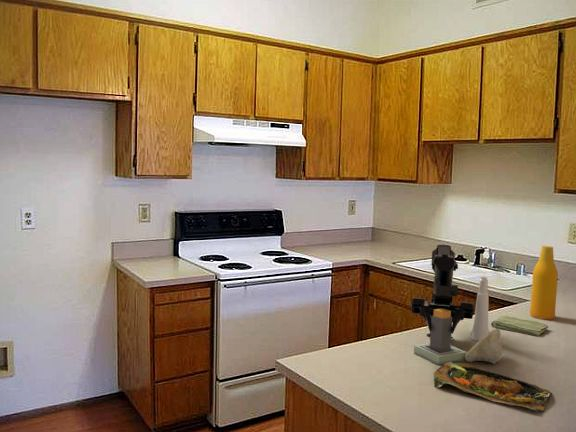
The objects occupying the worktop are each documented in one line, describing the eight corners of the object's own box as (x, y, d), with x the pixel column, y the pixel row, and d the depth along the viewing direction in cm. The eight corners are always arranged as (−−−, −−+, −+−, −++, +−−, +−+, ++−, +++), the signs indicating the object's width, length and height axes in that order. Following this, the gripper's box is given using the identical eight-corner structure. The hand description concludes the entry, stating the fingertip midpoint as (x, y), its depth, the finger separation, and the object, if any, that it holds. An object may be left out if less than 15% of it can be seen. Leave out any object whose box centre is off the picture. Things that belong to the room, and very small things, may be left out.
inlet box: (414, 353, 167) (414, 345, 167) (440, 348, 172) (440, 341, 172) (438, 365, 157) (439, 356, 157) (465, 360, 162) (466, 351, 162)
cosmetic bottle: (493, 341, 182) (497, 278, 180) (478, 342, 180) (481, 278, 178) (482, 336, 188) (485, 274, 186) (467, 337, 186) (471, 275, 184)
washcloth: (540, 338, 188) (540, 329, 188) (489, 328, 199) (490, 320, 199) (548, 330, 199) (549, 322, 198) (500, 321, 209) (500, 313, 209)
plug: (429, 350, 165) (431, 309, 164) (439, 348, 168) (441, 307, 167) (440, 354, 162) (443, 312, 161) (450, 352, 164) (452, 311, 163)
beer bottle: (559, 320, 212) (564, 248, 209) (535, 319, 212) (540, 247, 209) (548, 314, 221) (553, 245, 218) (525, 313, 221) (530, 244, 219)
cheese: (484, 377, 154) (524, 345, 155) (467, 357, 156) (506, 325, 157) (472, 374, 169) (508, 345, 170) (456, 355, 171) (492, 326, 171)
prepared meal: (554, 379, 140) (541, 401, 126) (553, 392, 140) (541, 415, 126) (449, 359, 156) (427, 376, 142) (448, 370, 156) (427, 389, 142)
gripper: (413, 272, 169) (410, 315, 159) (475, 277, 164) (475, 321, 154) (413, 291, 177) (410, 333, 168) (472, 296, 172) (472, 340, 163)
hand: (441, 331), depth 163 cm, fingers closed on plug, 6 cm apart
